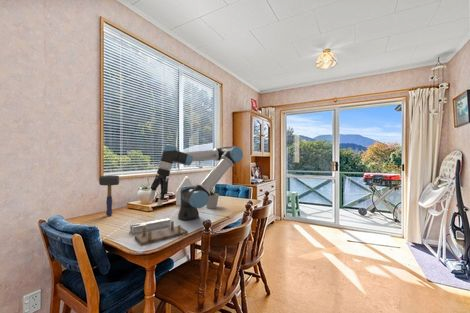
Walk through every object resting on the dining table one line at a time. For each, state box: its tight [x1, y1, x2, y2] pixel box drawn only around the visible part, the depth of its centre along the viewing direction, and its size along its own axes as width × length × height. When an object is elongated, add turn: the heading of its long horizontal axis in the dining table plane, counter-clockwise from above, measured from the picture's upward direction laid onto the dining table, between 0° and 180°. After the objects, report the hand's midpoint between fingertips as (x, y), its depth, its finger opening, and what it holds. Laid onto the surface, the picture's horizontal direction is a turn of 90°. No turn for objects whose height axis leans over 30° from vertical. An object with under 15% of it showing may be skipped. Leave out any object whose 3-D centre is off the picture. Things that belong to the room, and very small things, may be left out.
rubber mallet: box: [98, 175, 120, 217], centre depth 161 cm, size 12×8×30 cm, turn 109°
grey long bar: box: [129, 217, 171, 235], centre depth 134 cm, size 23×6×4 cm, turn 130°
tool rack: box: [134, 220, 189, 246], centre depth 122 cm, size 26×12×6 cm, turn 130°
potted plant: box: [205, 187, 220, 210], centre depth 190 cm, size 13×14×20 cm
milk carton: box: [175, 175, 195, 207], centre depth 205 cm, size 19×15×25 cm
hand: (154, 202), depth 132 cm, fingers open, 13 cm apart
